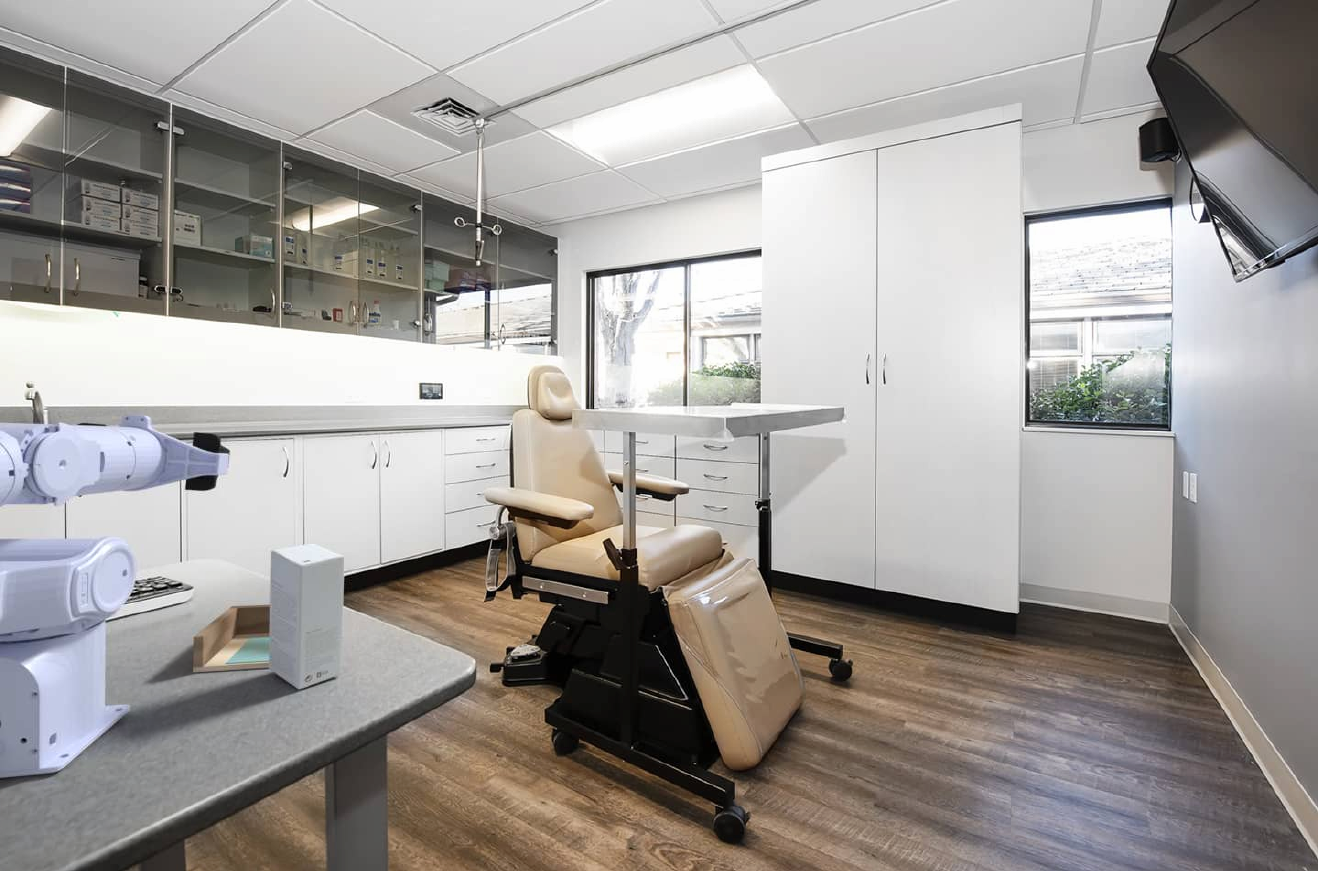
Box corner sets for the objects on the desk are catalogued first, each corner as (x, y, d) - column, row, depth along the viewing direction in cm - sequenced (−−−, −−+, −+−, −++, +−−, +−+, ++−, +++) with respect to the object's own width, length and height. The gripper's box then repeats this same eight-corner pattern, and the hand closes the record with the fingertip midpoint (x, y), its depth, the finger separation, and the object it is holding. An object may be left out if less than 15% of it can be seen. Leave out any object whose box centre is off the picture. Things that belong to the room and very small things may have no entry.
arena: (319, 664, 63) (320, 630, 63) (193, 672, 60) (193, 636, 60) (340, 631, 72) (340, 601, 72) (231, 637, 69) (232, 606, 69)
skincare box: (343, 674, 61) (346, 555, 59) (297, 691, 57) (300, 565, 56) (311, 654, 64) (314, 541, 63) (266, 669, 60) (268, 549, 59)
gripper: (198, 421, 54) (264, 424, 67) (1, 403, 51) (110, 411, 65) (189, 501, 54) (257, 489, 67) (-9, 488, 51) (102, 478, 64)
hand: (185, 455), depth 66 cm, fingers open, 7 cm apart
